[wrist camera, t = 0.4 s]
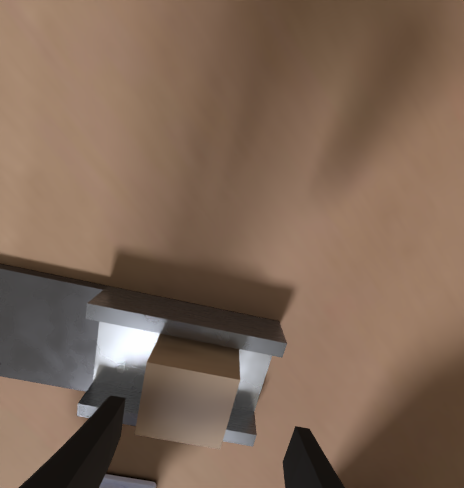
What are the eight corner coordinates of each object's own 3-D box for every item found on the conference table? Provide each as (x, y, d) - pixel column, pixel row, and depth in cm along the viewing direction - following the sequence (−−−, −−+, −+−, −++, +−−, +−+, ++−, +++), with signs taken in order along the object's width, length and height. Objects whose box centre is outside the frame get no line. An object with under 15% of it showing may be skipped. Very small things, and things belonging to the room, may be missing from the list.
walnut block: (222, 399, 20) (220, 449, 17) (153, 386, 20) (134, 434, 16) (238, 340, 19) (240, 380, 15) (164, 325, 19) (146, 362, 15)
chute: (250, 413, 22) (252, 446, 19) (-21, 364, 20) (-59, 392, 18) (279, 321, 20) (286, 343, 17) (-24, 258, 18) (-69, 272, 15)
